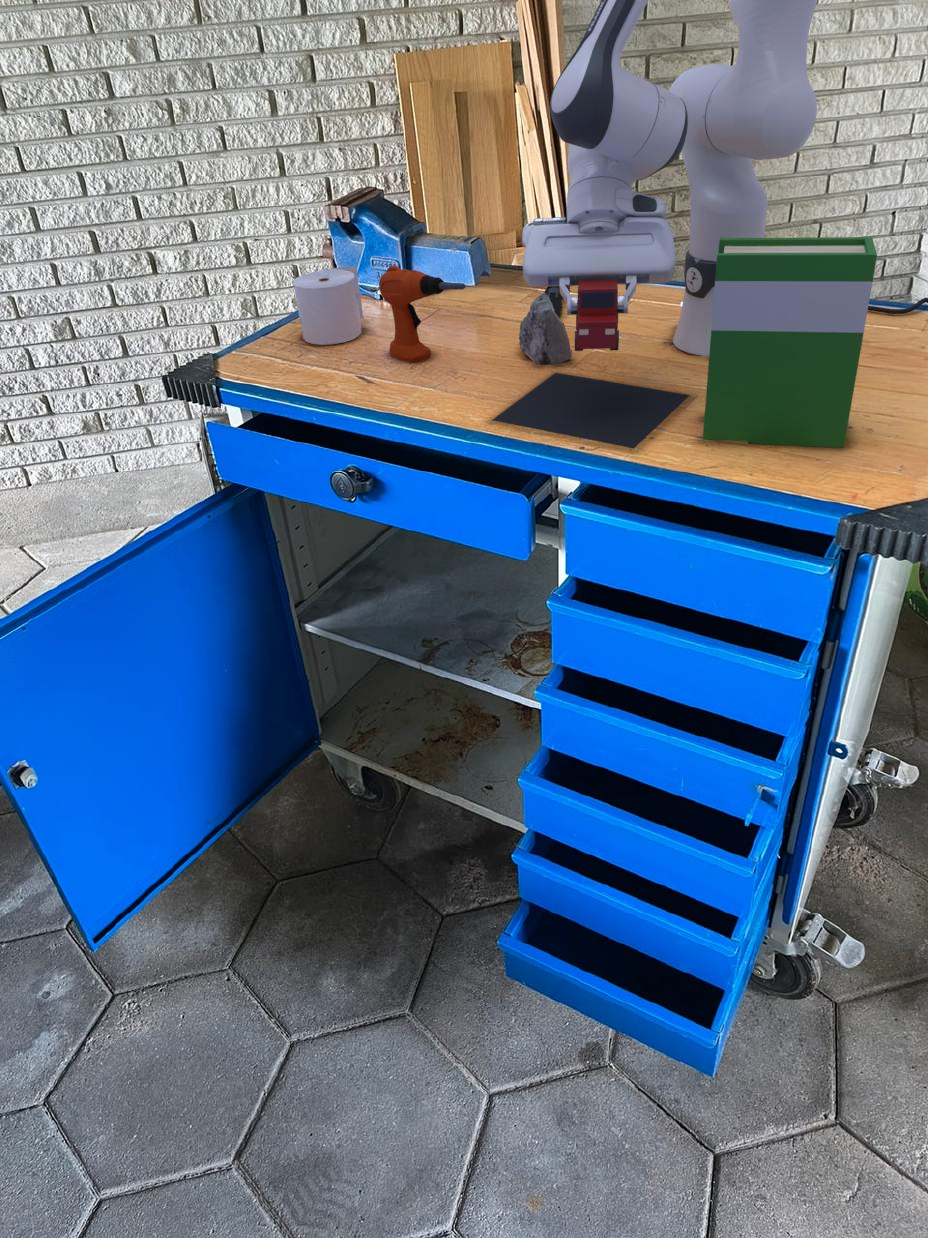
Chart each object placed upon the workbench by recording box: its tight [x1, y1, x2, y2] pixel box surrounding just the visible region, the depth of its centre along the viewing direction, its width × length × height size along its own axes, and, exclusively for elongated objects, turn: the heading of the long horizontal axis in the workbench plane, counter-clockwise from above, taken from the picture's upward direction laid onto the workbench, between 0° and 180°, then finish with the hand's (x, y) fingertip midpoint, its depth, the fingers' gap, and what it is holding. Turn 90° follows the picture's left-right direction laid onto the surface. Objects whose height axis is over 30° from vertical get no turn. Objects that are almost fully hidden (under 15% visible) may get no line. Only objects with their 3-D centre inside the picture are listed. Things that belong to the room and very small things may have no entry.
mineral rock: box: [518, 292, 573, 366], centre depth 155 cm, size 13×11×10 cm
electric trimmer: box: [543, 286, 563, 317], centre depth 173 cm, size 4×16×3 cm, turn 172°
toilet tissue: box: [292, 265, 364, 346], centre depth 170 cm, size 11×12×10 cm
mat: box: [492, 372, 690, 450], centre depth 138 cm, size 19×22×1 cm
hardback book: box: [702, 236, 878, 449], centre depth 121 cm, size 18×7×24 cm, turn 75°
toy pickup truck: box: [574, 280, 620, 352], centre depth 130 cm, size 13×6×8 cm, turn 173°
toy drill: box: [378, 265, 466, 363], centre depth 154 cm, size 5×19×15 cm, turn 48°
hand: (597, 312), depth 128 cm, fingers closed on toy pickup truck, 5 cm apart
